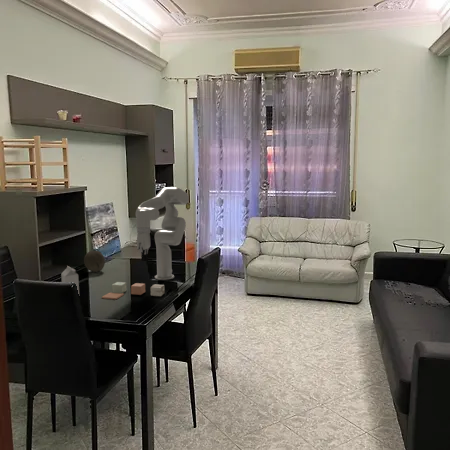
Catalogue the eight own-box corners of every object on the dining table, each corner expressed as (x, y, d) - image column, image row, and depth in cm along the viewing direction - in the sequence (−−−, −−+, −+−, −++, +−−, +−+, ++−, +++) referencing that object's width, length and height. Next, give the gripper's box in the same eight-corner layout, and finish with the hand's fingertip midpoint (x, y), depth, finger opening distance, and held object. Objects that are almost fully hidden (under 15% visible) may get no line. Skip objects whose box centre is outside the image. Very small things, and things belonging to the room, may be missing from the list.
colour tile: (109, 293, 262) (109, 292, 262) (123, 294, 260) (123, 293, 260) (101, 298, 253) (101, 296, 253) (116, 299, 251) (116, 298, 251)
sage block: (117, 290, 270) (117, 281, 269) (126, 290, 269) (126, 282, 268) (112, 292, 264) (112, 284, 264) (121, 293, 263) (121, 285, 262)
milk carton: (66, 303, 245) (64, 269, 242) (62, 300, 250) (60, 266, 248) (79, 301, 249) (77, 267, 246) (75, 297, 255) (73, 264, 252)
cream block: (154, 292, 264) (154, 284, 264) (164, 293, 263) (164, 285, 262) (150, 295, 259) (150, 287, 258) (160, 296, 257) (160, 287, 256)
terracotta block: (135, 291, 267) (135, 283, 267) (145, 292, 266) (145, 283, 265) (131, 294, 261) (131, 285, 261) (141, 294, 260) (140, 286, 259)
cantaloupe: (108, 269, 320) (107, 248, 318) (101, 274, 307) (100, 252, 304) (89, 269, 322) (88, 248, 320) (80, 274, 308) (79, 252, 306)
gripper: (143, 228, 276) (144, 257, 279) (132, 231, 262) (133, 263, 264) (154, 228, 275) (155, 258, 277) (144, 232, 260) (145, 263, 263)
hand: (144, 260), depth 271 cm, fingers closed
